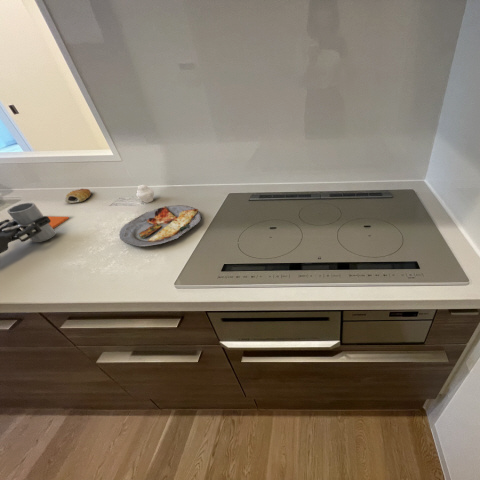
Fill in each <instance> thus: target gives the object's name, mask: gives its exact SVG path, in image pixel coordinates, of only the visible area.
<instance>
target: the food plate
mask: <svg viewBox="0 0 480 480" xmlns="http://www.w3.org/2000/svg"><path fill="white" fill-rule="evenodd" d="M201 220H202V215H201V211H200V210H199V209H198V208H195V207H193V206H189V205H184V204H178V205H167V206H166V205H164V206H162V207H159V208H155V209H153V210H150V211H146V212H144V213H142V214H140V215H138V216H137V217H136V218H134V219H132V220H130V221H128V223H125V224H124V225H123V226H122V227H121V229H120V230H119V234H118V235H119V239H120V240H121V241H122V242H123V243H125V244H128V245H132V246H137V247H149V246H157V245H161V244H165V243H167V242H171V241H174V240H175V239H179V238H180V237H181V236H183V235H184V234H186V233H187V232H188V231H190V230H191V229H192V228H194V227H195V226H196V225H197V224H199V223H200V222H201Z"/></svg>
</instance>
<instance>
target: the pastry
mask: <svg viewBox="0 0 480 480" xmlns="http://www.w3.org/2000/svg"><path fill="white" fill-rule="evenodd" d="M91 195H92V192H91V190H90V189H89V188H80V189H76V190H72V191H70V192H68V193H66V196H65V199H64V200H65V202H66V203H68V204H75V203H82V202H84V201H86V200H87V199H89V197H90V196H91Z"/></svg>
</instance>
